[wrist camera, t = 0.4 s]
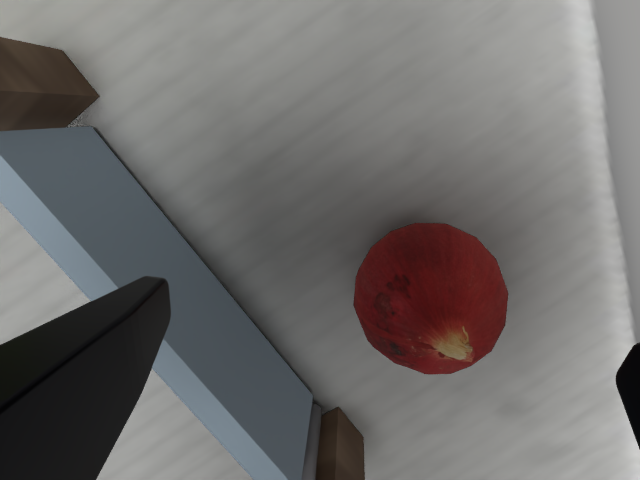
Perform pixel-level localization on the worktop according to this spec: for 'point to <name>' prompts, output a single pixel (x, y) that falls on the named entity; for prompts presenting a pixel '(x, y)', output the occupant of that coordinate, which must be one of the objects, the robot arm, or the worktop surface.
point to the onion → (431, 298)
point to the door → (185, 295)
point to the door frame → (61, 109)
